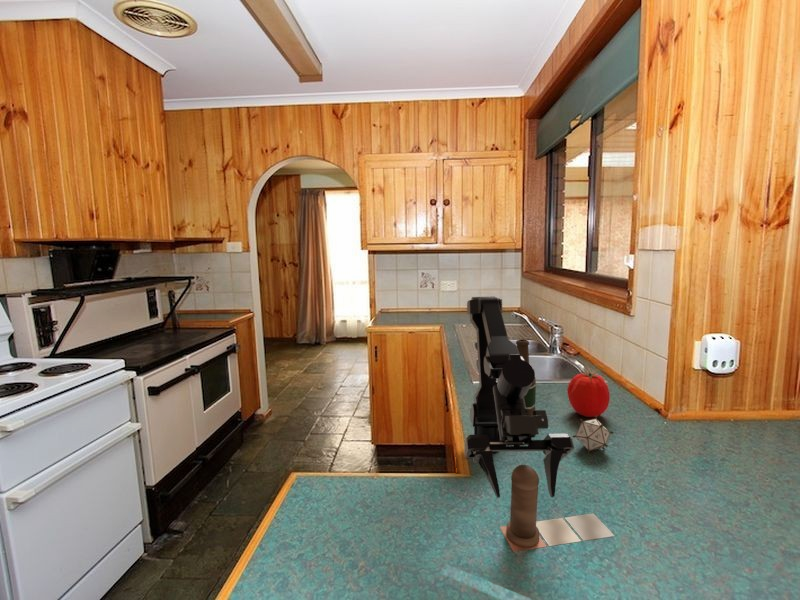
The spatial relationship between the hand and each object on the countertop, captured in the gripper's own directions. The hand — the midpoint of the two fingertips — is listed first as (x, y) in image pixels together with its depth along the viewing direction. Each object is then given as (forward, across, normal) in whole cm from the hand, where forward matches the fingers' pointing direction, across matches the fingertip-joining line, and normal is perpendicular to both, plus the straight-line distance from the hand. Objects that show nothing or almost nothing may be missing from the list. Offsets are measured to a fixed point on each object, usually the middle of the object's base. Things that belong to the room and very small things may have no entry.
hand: (525, 497), depth 69 cm
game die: (-16, +26, +30) cm, 43 cm away
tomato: (-30, +33, +44) cm, 63 cm away
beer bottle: (-29, +13, +43) cm, 54 cm away
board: (+5, +6, +9) cm, 12 cm away
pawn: (+5, 0, +7) cm, 9 cm away
